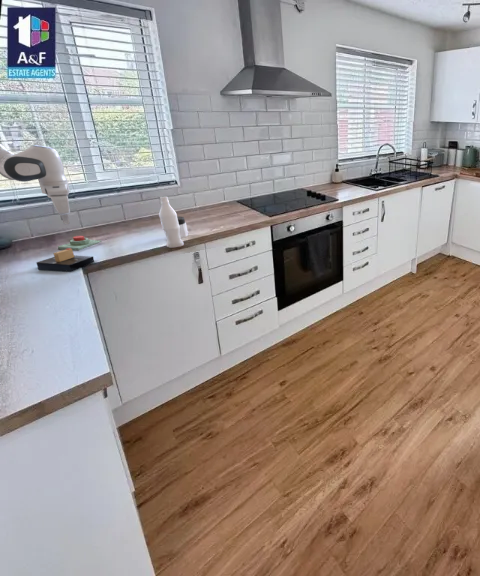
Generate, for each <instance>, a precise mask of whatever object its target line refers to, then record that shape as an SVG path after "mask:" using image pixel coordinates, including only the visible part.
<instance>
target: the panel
mask: <svg viewBox="0 0 480 576" xmlns="http://www.w3.org/2000/svg"><path fill="white" fill-rule="evenodd" d="M35 263H36V266H37V269H38V270H39V271H49V272H50V271H52V272H64V273H65V272H66V273H73V272H75V271H77V270H79V269H82V268H84V267H86V266H88V265H90V264H93V263H95V259H94V256H88V255H78V254H76V255H75V254H74V257H73V258H70V259H67V260H64V261H61V262H56V260H55V257H54V256H52V257H49V258H46V259H43V260H40V261H36V262H35Z"/></svg>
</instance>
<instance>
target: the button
mask: <svg viewBox="0 0 480 576" xmlns="http://www.w3.org/2000/svg"><path fill="white" fill-rule="evenodd" d="M84 238H85V236H84V235H75V236H72V239H74V241H82V240H85V239H84Z"/></svg>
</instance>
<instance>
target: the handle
mask: <svg viewBox="0 0 480 576" xmlns="http://www.w3.org/2000/svg"><path fill="white" fill-rule="evenodd" d="M74 255H75V254H74V250H72V249H71V248H67V249H65V250H62V249H61V250H59V251H55V252H53V257H55V260H56V262H61V261H64V260H67V259H70V258H73V257H74Z"/></svg>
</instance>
